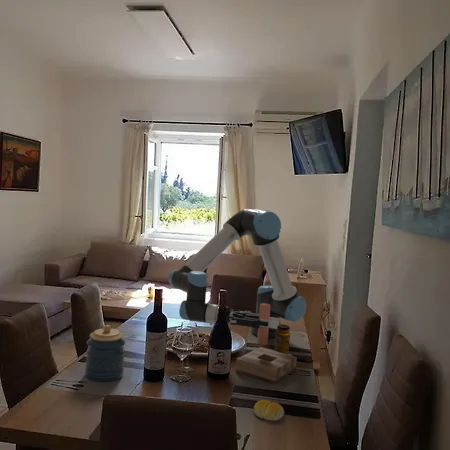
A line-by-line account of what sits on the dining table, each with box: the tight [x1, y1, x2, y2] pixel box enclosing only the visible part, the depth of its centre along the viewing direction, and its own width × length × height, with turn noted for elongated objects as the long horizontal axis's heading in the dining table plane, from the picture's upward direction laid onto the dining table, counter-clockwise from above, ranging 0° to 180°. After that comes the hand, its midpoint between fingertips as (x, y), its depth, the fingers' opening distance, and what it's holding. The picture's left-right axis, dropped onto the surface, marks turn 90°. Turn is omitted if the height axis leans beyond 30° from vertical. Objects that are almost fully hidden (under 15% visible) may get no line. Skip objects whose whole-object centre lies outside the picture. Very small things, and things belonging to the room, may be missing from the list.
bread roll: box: [253, 399, 285, 422], centre depth 143 cm, size 8×9×4 cm
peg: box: [256, 303, 271, 346], centre depth 179 cm, size 4×4×15 cm
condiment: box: [273, 324, 293, 356], centre depth 198 cm, size 7×8×12 cm
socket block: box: [235, 346, 298, 384], centre depth 178 cm, size 18×16×5 cm
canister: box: [84, 324, 126, 383], centre depth 163 cm, size 13×13×18 cm
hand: (278, 323), depth 178 cm, fingers closed on peg, 4 cm apart
